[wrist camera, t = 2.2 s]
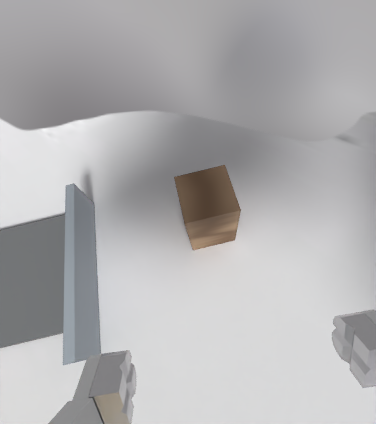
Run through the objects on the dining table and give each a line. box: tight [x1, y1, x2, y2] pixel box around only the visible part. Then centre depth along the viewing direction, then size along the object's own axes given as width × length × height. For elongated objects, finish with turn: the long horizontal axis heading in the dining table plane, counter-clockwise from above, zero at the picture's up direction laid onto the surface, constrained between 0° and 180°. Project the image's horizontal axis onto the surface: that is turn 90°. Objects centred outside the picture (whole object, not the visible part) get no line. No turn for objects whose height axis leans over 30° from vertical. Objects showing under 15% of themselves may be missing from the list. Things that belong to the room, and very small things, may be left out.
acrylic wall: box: [63, 184, 101, 365], centre depth 26 cm, size 1×18×5 cm, turn 12°
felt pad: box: [0, 215, 65, 348], centre depth 29 cm, size 11×14×1 cm
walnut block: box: [174, 165, 241, 250], centre depth 26 cm, size 5×5×8 cm
